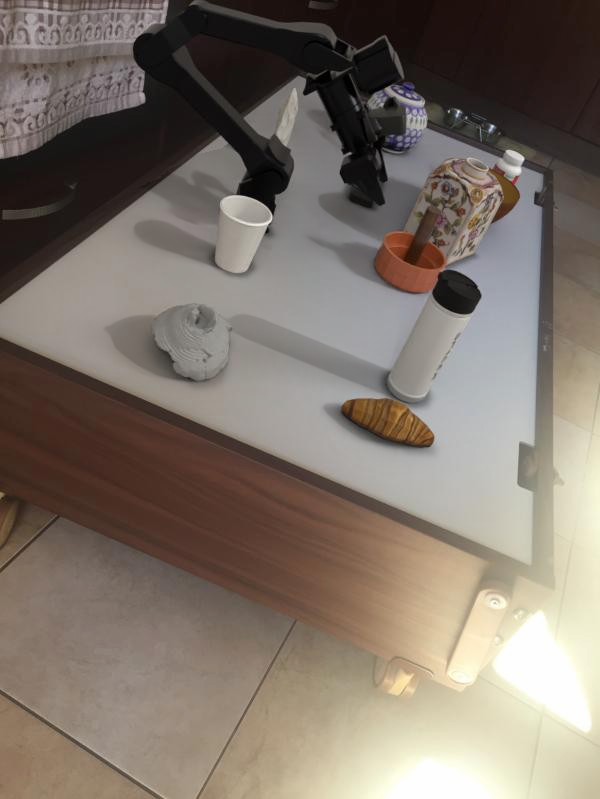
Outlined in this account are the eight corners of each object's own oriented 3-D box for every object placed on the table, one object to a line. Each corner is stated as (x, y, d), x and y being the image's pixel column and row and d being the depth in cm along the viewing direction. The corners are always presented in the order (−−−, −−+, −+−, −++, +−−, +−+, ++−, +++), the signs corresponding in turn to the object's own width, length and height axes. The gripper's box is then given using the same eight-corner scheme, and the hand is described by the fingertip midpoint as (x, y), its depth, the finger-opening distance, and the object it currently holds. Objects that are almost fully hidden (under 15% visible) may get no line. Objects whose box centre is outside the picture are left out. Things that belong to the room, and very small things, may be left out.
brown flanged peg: (411, 282, 131) (441, 219, 123) (390, 270, 132) (419, 207, 124) (419, 273, 134) (449, 211, 126) (398, 261, 135) (427, 200, 127)
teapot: (407, 173, 169) (434, 111, 159) (346, 148, 168) (369, 84, 159) (420, 138, 188) (445, 81, 178) (365, 115, 188) (387, 56, 178)
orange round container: (382, 291, 128) (394, 265, 124) (365, 252, 136) (376, 226, 132) (442, 299, 132) (455, 274, 128) (422, 261, 140) (434, 237, 136)
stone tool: (272, 166, 150) (293, 95, 140) (259, 159, 150) (280, 88, 141) (289, 155, 156) (311, 86, 147) (277, 148, 157) (297, 79, 147)
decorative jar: (399, 234, 145) (437, 151, 133) (430, 224, 153) (468, 144, 141) (445, 268, 141) (488, 184, 129) (475, 255, 148) (518, 175, 137)
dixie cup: (234, 244, 124) (249, 191, 118) (266, 271, 121) (283, 219, 114) (196, 253, 118) (209, 198, 112) (228, 282, 115) (244, 228, 109)
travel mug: (380, 371, 110) (435, 261, 98) (420, 378, 112) (479, 271, 99) (387, 399, 106) (445, 288, 93) (428, 406, 108) (491, 299, 95)
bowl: (481, 254, 150) (505, 211, 143) (409, 212, 154) (429, 169, 147) (507, 229, 163) (530, 189, 156) (440, 191, 167) (459, 151, 160)
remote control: (370, 211, 150) (380, 180, 161) (373, 203, 149) (383, 173, 160) (347, 202, 150) (359, 172, 161) (350, 194, 149) (362, 165, 160)
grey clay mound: (234, 393, 101) (258, 353, 92) (149, 391, 96) (166, 348, 88) (223, 321, 106) (245, 276, 98) (142, 315, 101) (157, 268, 93)
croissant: (334, 428, 98) (347, 402, 95) (343, 397, 103) (355, 372, 100) (428, 464, 98) (443, 439, 95) (431, 432, 104) (446, 407, 100)
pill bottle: (489, 203, 170) (512, 160, 163) (476, 189, 174) (497, 146, 167) (509, 205, 173) (532, 162, 166) (495, 191, 177) (518, 149, 170)
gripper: (388, 104, 106) (428, 198, 114) (394, 67, 120) (429, 152, 128) (320, 137, 110) (363, 224, 118) (333, 97, 124) (371, 177, 132)
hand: (384, 193), depth 124 cm, fingers open, 9 cm apart
